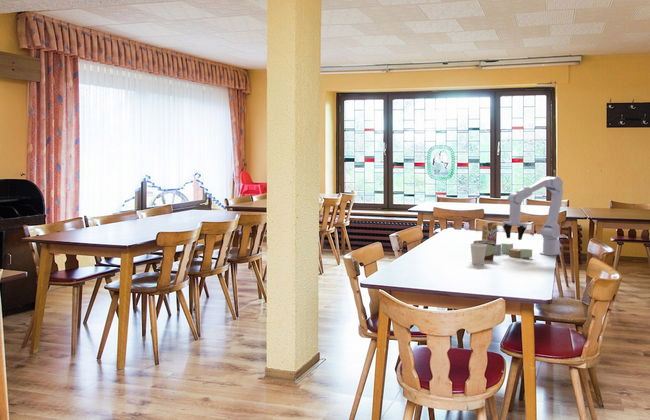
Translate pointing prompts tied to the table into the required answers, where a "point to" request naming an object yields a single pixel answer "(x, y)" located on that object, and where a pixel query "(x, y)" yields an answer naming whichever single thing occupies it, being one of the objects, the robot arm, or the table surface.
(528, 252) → the pale green block
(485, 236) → the candy box
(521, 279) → the table surface
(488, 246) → the food container
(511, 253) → the walnut plinth
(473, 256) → the dixie cup
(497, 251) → the slate block
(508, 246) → the sage block
